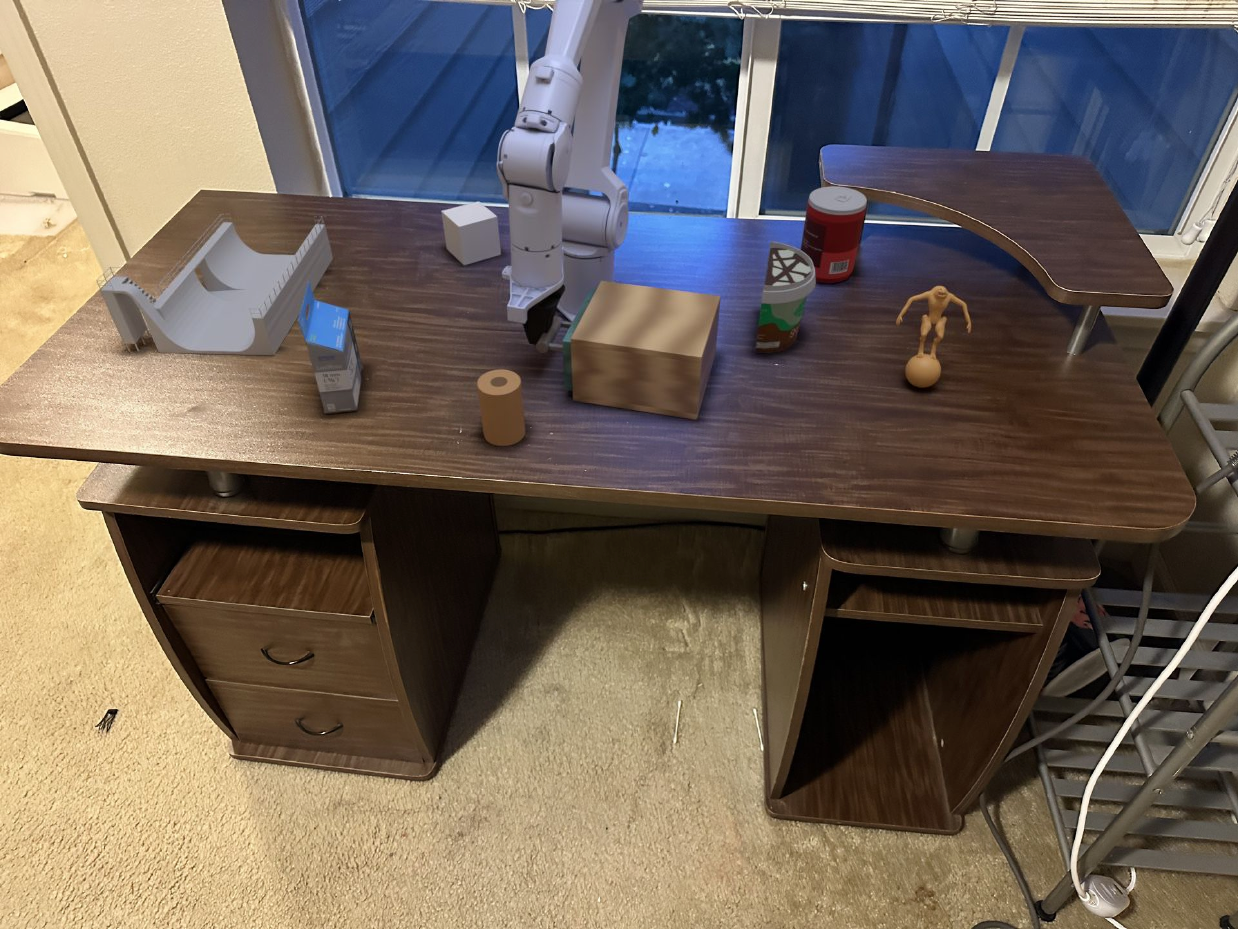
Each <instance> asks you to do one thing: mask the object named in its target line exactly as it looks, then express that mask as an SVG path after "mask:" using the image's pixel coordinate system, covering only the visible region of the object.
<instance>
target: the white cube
mask: <svg viewBox="0 0 1238 929" xmlns="http://www.w3.org/2000/svg"><path fill="white" fill-rule="evenodd" d="M440 211H441V213H440V214H441V219H442V226H443V233H444V239H445V240H444V241H445V246H446V250H447V251H448V252H449V253H450V254H451V255H452V256H454V257H455V259H456V260H458V261H459V263H461V264H462V265H463V266H467V265H470V264H473V263H477V262H480V261H483V260H487V259H491V258H494V257H498V256H501V255H502V253H501V252H502V251H501V241H500V233H499V232H500V231H499V220H498V216H497V215H496V214H495V213H494V212H493V211H491V210H490V209H489V208H487V207H486V206H485V205H484V204H483V203H481V202H480V201H475V202H471V203H467V204H463V205H459V206H455V207H451V208H448V209H444V210H440Z"/></svg>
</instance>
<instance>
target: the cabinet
mask: <svg viewBox="0 0 1238 929" xmlns="http://www.w3.org/2000/svg"><path fill="white" fill-rule="evenodd" d="M721 297H722V296H721V295H716V294H708V293H700V292H693V291H686V290H685V291H684V290H677V289H668V288H663V287H662V288H660V287H653V286H645V285H638V284H632V283H631V284H630V283H623V282H615V281H614V282H608V281H601V282H600V284H599V286H598V288H597V290H596V292H595V294H594V295H593V297H592V299H591V301H590V303H589V305H588V307H587V309H586V311H585V312H584V314H583V316H582V318H581V320H580V322H579V324H578V326H577V328H576V329H575V331H574V333H573V335H572V337H571V360H572V385H573V391H572V401H573V402H580V403H587V404H591V405H592V404H593V405H597V406H598V405H599V406H606V407H612V408H619V409H624V410H625V409H626V410H632V411H638V412H642V413H643V412H645V413H650V414H657V415H664V416H668V417H669V416H670V417H676V418H683V419H689V420H698V417H699V413H700V410H701V407H702V402H703V400H704V396H705V392H706V389H707V386H708V382H709V378H710V375H711V372H712V368H713V365H714V361H715V359H716V352H717V351H716V350H717V341H718V332H719V331H718V329H719V320H720V310H721V299H722V298H721Z"/></svg>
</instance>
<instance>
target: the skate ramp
mask: <svg viewBox="0 0 1238 929" xmlns="http://www.w3.org/2000/svg"><path fill="white" fill-rule="evenodd" d="M226 215H229V217H223V214H220V216H218V217H217V218H216V219H215V220H214V222H213V223H215V222H216V225H215V226H214V225H213V224H211V225H210V226H209V227H208V228H207V229H206V230H205V232H206V233H207V235H206V236H205V237H204V235H205V233H203V234H202V235H201V236H200V237H199V238H198V240H201V239H202V241H201V242H200V243H199V242H198V241H196V242H195V243H194V244H193V245H192V246H191V247H190V249H191V251H192V252H191V253H190V255H194V256H193V257H192V258H191V260H190V256H189V254H188V253H189V252H190V250H188V251H187V252H186V253H185V254H184V255H183V257H185V256H186V257H187V258H186V259H185V260H184V262H183V258H180V260H179V261H177V263H176V264H175V267H173V268H172V269H171V270H170V271H169V272H168V273H167V275H170V277H169V279H171V280H172V281H171V283H170V284H169V285H168V282H169V280H166V278H167V276H164V278H163V279H162V280H161V281H160V283H162V282H163V281H164V284H163V285H162V287H164V286H165V285H166V288H165V290H163V291H162V288H161V287H160V284H157V286H156V287H155V288H154V289H153V290H152V295H151V294H149V292H148V291H146V290H145V289H144V288H141V285H137V282H134V281H133V279H130V278H129V276H128V275H127V273H126V270H125V268H124V267H121V266H120V267H119V266H109V267H108V268H107V269H106V270H105V271H104V272H103V273H102V274H100V276H99V277H98V278H97V279H96V283H97V285H98V288H99V292H100V295H101V296H102V299H103V300H104V303H105V305H106V307H107V309H108V312H109V314H110V316H111V318H112V320H113V323H114V325H115V328H116V330H117V332H118V334H119V336H120V338H121V341H122V343H123V344H125V346H126V348H127V350H128V352H129V353H130V352H131V349H130V347H129V344H134V346H135V348H136V351H137V352H138V353H140V351H141V350H140V349H139V346H138V344H137V342H138V341H139V340H140V339H141V341H142V343H143V345H146V342H145V339H144V337H143V335H144V334H145V333H147V336H148V338H149V339H151V338H152V339H153V343H154V344H155V348H156V349H157V351H158V353H159V354H160V353H162V354H163V353H164V354H198V355H199V354H200V355H201V354H202V355H203V354H204V355H206V354H207V355H240V356H243V355H244V356H275V355H276V353H277V351H278V350H279V348H280V347H281V345H282V344H283V342H284V340H285V339H286V337H287V335H288V334H289V332H290V330H291V329H292V327H293V325H294V324H295V322H296V321H297V320H298V318H299V314H300V310H301V305H302V302H303V298H304V294H305V291H306V287H307V283H308V281H309V283H310V287H311V290H312V293H313V294H314V291H315V289H316V288H317V286H318V284H319V283H320V282H321V279H322V278H323V276H324V274H325V273H326V271H327V269H328V268H329V266H330V265H331V263H332V261H333V260H334V256H333V253H332V248H331V244H330V240H329V236H328V231H327V227H326V224H325V221H324V216H323V215H320V219H318V222H317V223H316V219H315V217H313V219H314V223H315V225H314V226H313V228H312V229H311V231H310V232H309V233H308V235H307V236H306V238H305V239H304V241H303V242H302V243H301V245H300V247H299V248H298V250H297V251H296V252H295V254H271V253H270V254H268V253H261V252H260V253H259V252H257V251H255V250H253V249H252V248H251V247H249V246H248V245H247V244H245V242H244V241H243V240H242V239H241V238H240V237H239V235H238V233H237V231H236V229H235V226H234V223H233V220H232V217H231V214H230V213H226ZM220 217H221V219H220V220H219V221H218V219H219V218H220ZM224 219H225V220H227V219H230V220H231V221H230V222H228V221H226V222H225V221H224ZM221 221H222V224H221V225H220V222H221ZM320 221H321V222H320ZM217 226H218V228H217V229H216V231H215V228H216V227H217ZM210 228H212V229H211V230H210V232H213V234H211V236H210V232H209V231H208V230H209V229H210ZM207 237H208V240H206V241H205V239H206V238H207ZM202 243H203V245H202V247H201V248H200V245H201V244H202ZM196 244H197V246H196V248H198V251H197V252H196V253H195V251H196V249H194V248H193V247H194V246H195V245H196ZM187 260H188V263H187V264H186V265H185V264H184V263H185V262H186V261H187ZM180 262H181V263H182V264H181V265H180V266H178V264H179V263H180ZM177 266H178V267H177ZM181 267H183V268H182V269H181V271H179V269H180V268H181ZM197 267H198V270H199V272H200V275H201V278H202V281H203V283H204V286H203V284H202V283H201V282H200V280H199V278H198V276H197V273H196V271H195V270H196V269H197ZM112 269H123V273H124V275H125V276H119V275H118V276H115V274H114V271H113V270H112ZM174 269H176V272H177V276H175V278H174V277H173V276H174V275H175V273H176V272H174V273H173V274H172V271H173V270H174ZM108 270H110V273H108V275H107V276H106V275H105V273H106V272H107V271H108ZM111 274H112V276H113V277H112V278H111V279H110V280H108V279H107V278H108V277H109V276H110V275H111ZM102 276H103V277H104V279H103V280H101V281H100V283H99V279H100V278H101V277H102ZM103 282H105V283H106V284H102V283H103ZM157 288H158V289H159V290H158V291H157V292H156V294H154V292H155V290H157ZM159 292H160V295H159V296H158V297H157V298H156V295H157V294H158V293H159Z"/></svg>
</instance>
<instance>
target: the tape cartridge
mask: <svg viewBox="0 0 1238 929" xmlns="http://www.w3.org/2000/svg"><path fill="white" fill-rule="evenodd" d="M307 308H308V313H307ZM306 315H307V317H306ZM297 324H298V326H299V329H300V331H301V334H302V337H303V339H304V342H305V345H306V349H307V352H308V355H309V360H310V363H311V367H312V370H313V374H314V378H315V382H316V386H317V389H318V392H319V395H320V396H319V397H320V400H321V403H322V407H323V412H324V414H325V415H328V414H339V413H348V412H356V411H358V408H359V400H360V394H361V386H362V379H363V378H362V377H363V370H364V367H363V362H362V358H361V354H360V351H359V347H358V342H357V338H356V334H355V328H354V325H353V321H352V317H351V312H350V310H349V309H348V308H344V307H341V306H337V305H334V304H330V303H326V302H323V301H321V300H316V299H315V297H314V292H313V293H312V290H311V287H310V283H309V281H308V283H307V287H306V291H305V294H304V298H303V302H302V305H301V310H300V314H299V316H298V317H297Z"/></svg>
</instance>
